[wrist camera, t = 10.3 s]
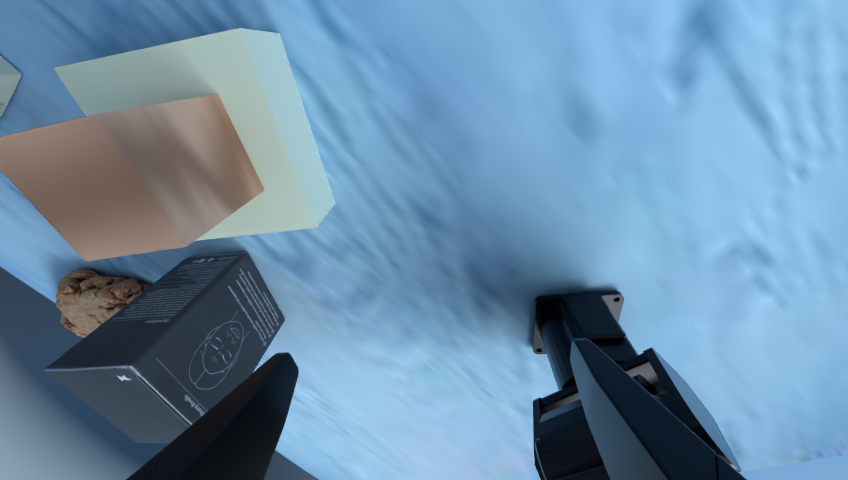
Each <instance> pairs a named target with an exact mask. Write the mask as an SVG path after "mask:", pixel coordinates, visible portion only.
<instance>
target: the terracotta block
mask: <svg viewBox="0 0 848 480" xmlns="http://www.w3.org/2000/svg"><path fill="white" fill-rule="evenodd" d="M0 170H1V171H2V172H3V173H4V174H5V175H6V176H7V177H8V178H9V180H10V181H11V182H12V183H13V184H14V185H15V186H16V187H17V188H18V189H19V190H20V191H21V192H22V194H23V195H24V196H25V197H26V198H27V199H28V200H29V201H30V202H31V203H32V204H33V205H34V206H35V208H36V209H37V210H38V211H39V212H40V213H41V214H42V215H43V216H44V217H45V218H46V219H47V220H48V222H49V223H50V224H51V225H52V226H53V227H54V228H55V229H56V230H57V231H58V232H59V233H60V234H61V236H62V237H63V238H64V239H65V240H66V241H67V242H68V243H69V244H70V245H71V246H72V247H73V248H74V250H75V251H76V252H77V253H78V254H79V255H80V256H81V257H82V258H83V259H84V260H85V261H93V260H100V259H107V258H114V257H121V256H127V255H134V254H141V253H148V252H155V251H162V250H169V249H176V248H183V247H187V246H189V245H190V244H191V243H193V242H194V241H196V240H197V239H198V238H200V237H201V236H202V235H204V234H205V233H207V232H208V231H209V230H211V229H212V228H213V227H215V226H216V225H218V224H219V223H220V222H222V221H223V220H224V219H226V218H227V217H228V216H230V215H231V214H233V213H234V212H235V211H237V210H238V209H239V208H241V207H242V206H244V205H245V204H246V203H248V202H249V201H250V200H252V199H253V198H255V197H256V196H257V195H259V194H260V193H261V192H263V191H264V190H265V189H264V187H263V185H262V183H261V181H260V179H259V177H258V175H257V173H256V171H255V169H254V167H253V165H252V163H251V160H250V158H249V156H248V154H247V152H246V150H245V148H244V146H243V144H242V142H241V140H240V138H239V136H238V134H237V132H236V130H235V128H234V126H233V124H232V122H231V119H230V117H229V115H228V113H227V111H226V109H225V107H224V105H223V103H222V101H221V99H220V97H219V95H218V94H215V95H209V96H203V97H197V98H191V99H185V100H179V101H173V102H167V103H161V104H155V105H148V106H142V107H136V108H130V109H124V110H118V111H112V112H106V113H100V114H94V115H90V116H85V117H81V118H77V119H73V120H69V121H64V122H60V123H56V124H52V125H48V126H43V127H39V128H35V129H31V130H26V131H22V132H18V133H14V134H10V135H5V136H1V137H0Z"/></svg>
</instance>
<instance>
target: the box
mask: <svg viewBox="0 0 848 480" xmlns="http://www.w3.org/2000/svg"><path fill="white" fill-rule="evenodd" d="M284 320H285V319H284V317H283V315H282V313H281V312H280V310H279V308H278V306H277V304H276V303H275V301H274V299H273V297H272V296H271V294H270V292H269V290H268V288H267V287H266V285H265V283H264V281H263V279H262V278H261V276H260V274H259V272H258V270H257V269H256V267H255V265H254V263H253V261H252V259H251V258H250V256H249V254H248V252H238V253H224V254H214V255H204V256H191V257H189V258H186V259H185V260H183V261H182V262H181V263H180V264H178V265H177V266H176V267H175V268H173V269H172V270H171V271H169V272H168V273H167V274H166V275H164V276H163V277H162V278H160V279H159V280H158V281H157V282H155V283H154V284H153V285H151V286H150V287H149V288H148V289H146V290H145V291H144V292H143V293H141V294H140V295H139V296H137V297H136V298H135V299H134V300H132V301H131V302H130V303H129V304H127V305H126V306H125V307H123V308H122V309H121V310H120V311H118V312H117V313H116V314H114V315H113V316H112V317H111V318H109V319H108V320H107V321H106V322H104V323H103V324H101V325H100V326H99V327H98V328H97V329H95V330H94V331H93V332H91V333H90V334H89V335H87V336H86V337H85V338H84V339H82V340H81V341H80V342H79V343H77V344H76V345H75V346H74V347H72V348H71V349H70V350H68V351H67V352H66V353H64V354H63V355H62V356H61V357H60V358H59V359H57V360H56V361H55V362H53V363H52V364H51V365H49V366H48V367H47V368H46V369H45V372H46V373H47V374H49V375H50V376H51V377H52V378H54V379H55V380H56V381H57V382H59V383H60V384H61V385H63V386H64V387H65V388H67V389H68V390H69V391H70V392H72V393H73V394H74V395H76V396H77V397H78V398H80V399H81V400H82V401H83V402H85V403H86V404H87V405H88V406H90V407H91V408H92V409H94V410H95V411H96V412H98V413H99V414H100V415H102V416H103V417H104V418H105V419H107V420H108V421H109V422H111V423H112V424H113V425H115V426H116V427H117V428H118V429H120V430H121V431H122V432H124V433H125V434H126V435H128V436H129V437H130V438H131V439H133V440H134V441H135V442H137V443H171V442H172V441H173V440H174V439H175V438H177V437H178V436H179V435H180V434H181V433H182V432H184V431H185V430H186V429H187V428H188V427H190V426H191V425H192V424H193V423H194V422H195V421H197V420H198V419H199V418H200V417H201V416H203V415H204V414H205V413H206V412H207V411H208V410H210V409H211V408H212V407H213V406H214V405H216V404H217V403H218V402H219V401H220V400H221V399H223V398H224V397H225V396H226V395H227V394H229V393H230V392H231V391H232V390H233V389H234V388H236V387H237V386H238V385H239V384H240V383H242V382H243V381H244V380H245V379H246V378H247V377H249V376H250V375H251V374H252V373H253V371H254V370H255V368H256V366H257V365H258V363H259V361H260V360H261V358H262V356H263V355H264V353H265V352H266V350H267V348H268V347H269V345H270V343H271V342H272V340H273V338H274V337H275V335H276V334H277V332H278V330H279V329H280V327H281V325H282V324H283V322H284Z"/></svg>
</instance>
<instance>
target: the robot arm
mask: <svg viewBox="0 0 848 480" xmlns="http://www.w3.org/2000/svg"><path fill="white" fill-rule="evenodd" d="M616 297H617V298H616ZM623 301H624V297H623V296H622V294H621V293H620V292H618V291H611V292H596V293H580V294H565V295H550V296H539V297H537V298H536V299H535V302H534V323H533V344H532V347H533V351H534V353H536V354H547V356H548V359H549V362H550V365H551V368H552V371H553V374H554V377H555V380H556V383H557V386H558V389H559V391H557V392H555V393H553V394H550V395H548V396H546V397H544V398H538V399H536V400H534V401H533V425H534V457H535V466H536V469H537V471H538V473H539V476H540V479H541V480H747V479H745V478H744V477H743V476H742V475H741V474H740V473H739V472H741V468H740V466H739V464H738V463H737V461H736V459H735V457H734V455H733V453H732V451H731V450H730V448H729V446H728V444H727V442H726V440H725V438H724V436H723V435H722V433H721V431H720V429H719V427H718V425H717V423H716V422H715V420H714V418H713V417H712V415H711V414H710V413H709V411H708V410H707V409H706V408H705V406H704V405H703V404H702V402H701V401H700V400H699V398H698V397H697V396H696V395H695V393H694V392H693V391H692V389H691V388H690V387H689V385H688V384H687V383H686V382H685V381H684V380H683V379H682V378H681V377H680V376H679V375H678V374H677V372H676V371H675V370H674V369H673V368H672V367H671V366H670V365H669V364H668V363H667V362H666V361H665V360H664V359H663V358H662V357H661V356H660V355H659V354H658V353H657V352H656V351H655V350H654V349H653V348H649V349H647V350H645V351H643V352H644V353H642V354H640V355H638V354H637V352H636V351H635V349H634V348H633V346H632V345H631V343H630V341H629V340H628V338H627V337H626V334H625V332H624V331H623V329H622V328H621V326H620V324H619V323H618V321H619V317H620V313H621V309H622V305H623ZM540 302H543V303H540ZM298 373H299V371H298V367H297V365H296V363H295V361H294V360H293V358H292V356H291V355H290V354H289V353H287V352H286V353H277V354H275V355H273V356H272V357H271V358H270V359H269V360H268V361H266V362H265V363H264V364H263V365H262V366H260V367H259V368H258V369H257V370H256V371H255V372H253V373H252V374H251V375H250V376H249V377H247V378H246V379H245V380H244V381H243V382H242V383H240V384H239V385H238V386H237V387H236V388H234V389H233V390H232V391H231V392H230V393H229V394H227V395H226V396H225V397H224V398H223V399H221V400H220V401H219V402H218V403H217V404H216V405H214V406H213V407H212V408H211V409H210V410H208V411H207V412H206V413H205V414H204V415H203V416H201V417H200V418H199V419H198V420H197V421H195V422H194V423H193V424H192V425H191V426H190V427H188V428H187V429H186V430H185V431H184V432H182V433H181V434H180V435H179V436H178V437H177V438H175V439H174V440H173V441H172V442H171V443H170V444H168V445H167V446H166V447H165V448H164V449H163V451H160V452H159V453H158V454H156V455H155V456H154V457H153V458H152V459H150V460H149V461H148V462H147V463H146V464H145V465H143V466H142V467H141V468H140V469H139V470H137V471H136V472H135V473H134V474H132V475H131V476H130V477H129V478H128V479H126V480H264V478H265V475H266V473H267V470H268V467H269V465H270V462H271V459H272V456H273V454H274V451H275V449H276V446H277V443H278V441H279V438H280V435H281V433H282V430H283V427H284V424H285V421H286V418H287V415H288V411H289V407H290V404H291V400H292V396H293V393H294V389H295V385H296V382H297V378H298Z"/></svg>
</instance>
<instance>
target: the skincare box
mask: <svg viewBox="0 0 848 480" xmlns="http://www.w3.org/2000/svg"><path fill="white" fill-rule="evenodd" d="M21 76H22V74H21V73H20V72H19V71H18V70H17V69H16V68H15V67H13V66H12V65H11V64H10V63H9V62H8V61H6V60H5V59H4V58H3V57H2V56H1V55H0V117H1V116H2V114H3V112H4V110H5V108H6V107H7V105H8V103H9V101H10V99H11V97H12V95H13V93H14V91H15V89H16V87H17V85H18V83H19V81H20V78H21Z"/></svg>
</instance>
